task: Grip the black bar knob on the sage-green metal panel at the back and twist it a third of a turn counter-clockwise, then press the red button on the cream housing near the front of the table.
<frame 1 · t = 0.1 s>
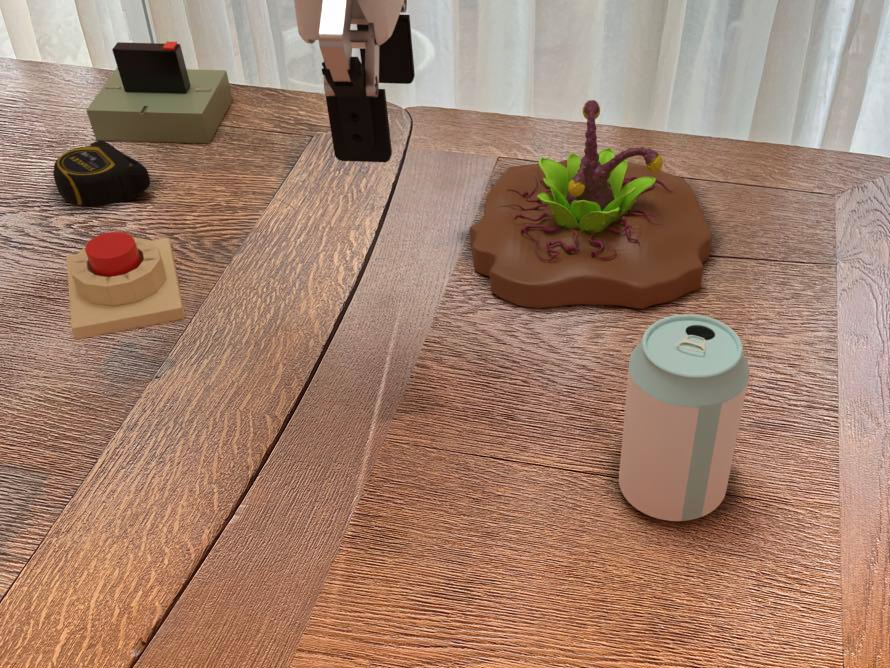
hand: (377, 118, 62), 19 cm above the table, tool pointing down, fingers open, 9 cm apart
plant: (589, 243, 88), on the table
button box: (130, 304, 81), on the table
button: (113, 254, 78), point 4 cm above the table, slide at 0.1 cm
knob: (151, 66, 97), point 5 cm above the table, hinge at 0.0°
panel: (166, 119, 101), on the table
can: (671, 491, 68), on the table
tape measure: (110, 196, 92), on the table
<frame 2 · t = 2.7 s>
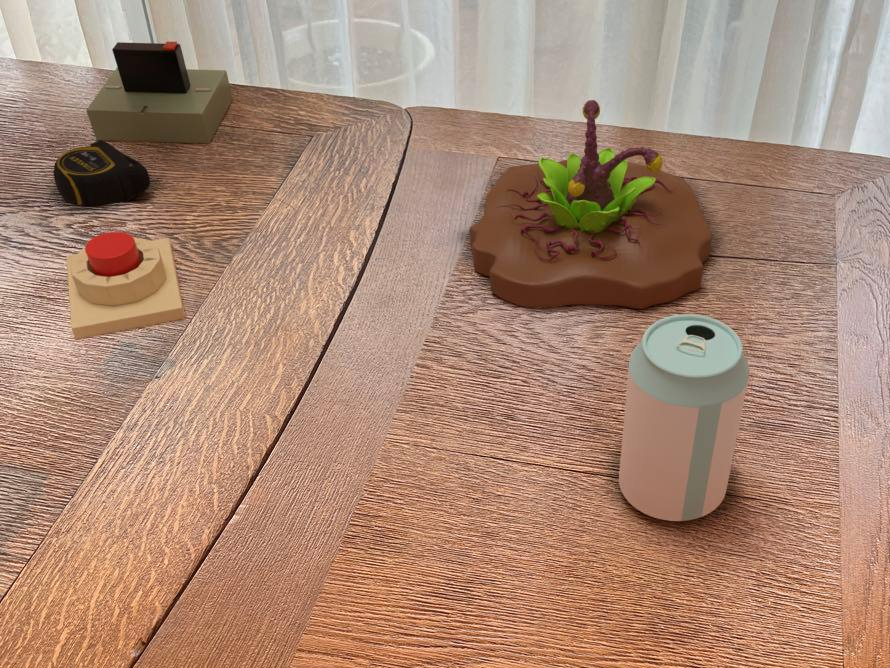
nothing on the table moved.
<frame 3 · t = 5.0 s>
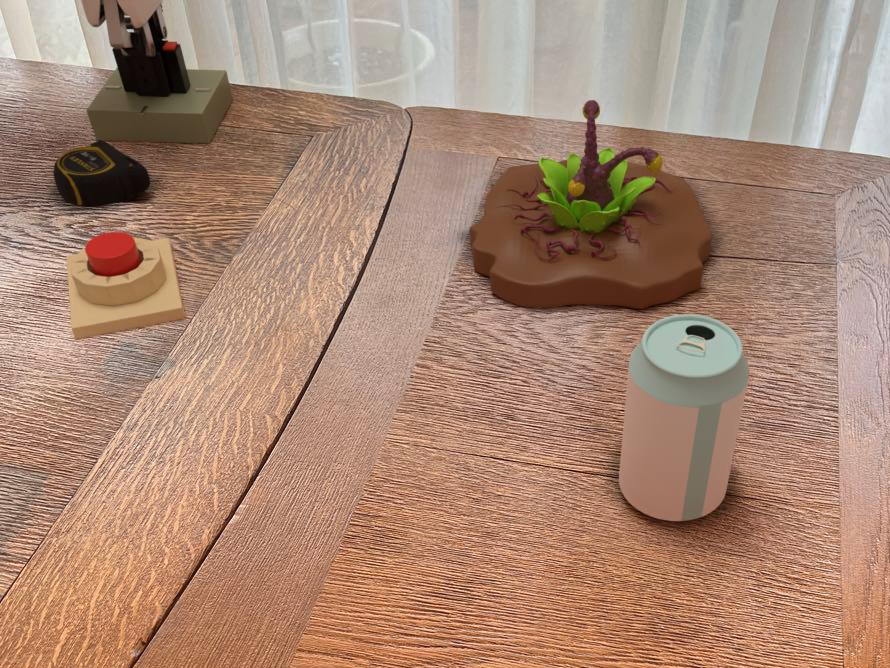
hand: (157, 87, 99), 3 cm above the table, tool pointing down, fingers closed on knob
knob: (151, 66, 97), point 5 cm above the table, hinge at 0.0°, touching gripper
everything else where it was.
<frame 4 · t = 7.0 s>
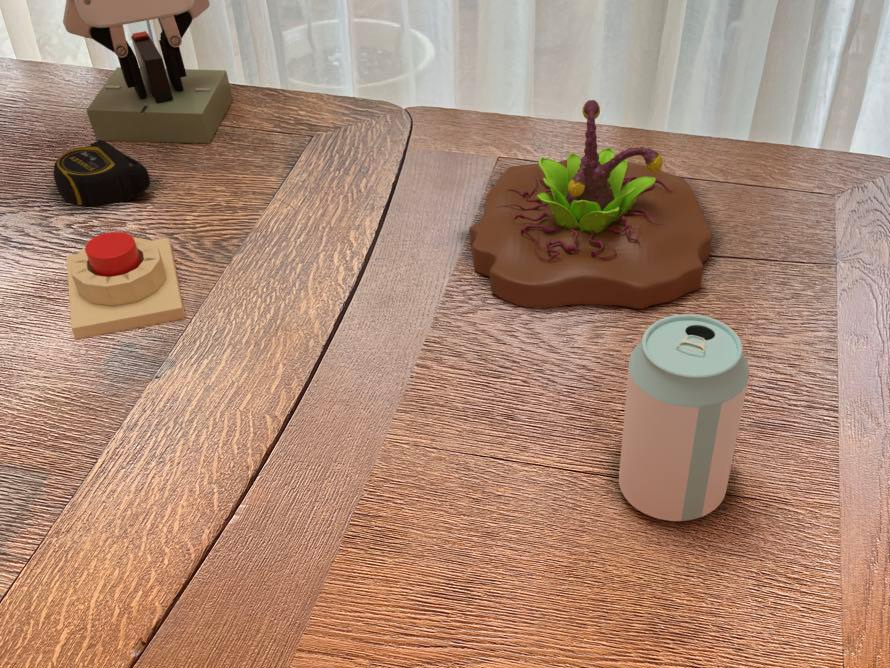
hand: (158, 87, 99), 3 cm above the table, tool pointing down, fingers closed
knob: (151, 66, 97), point 5 cm above the table, hinge at 119.5°
everything else where it was.
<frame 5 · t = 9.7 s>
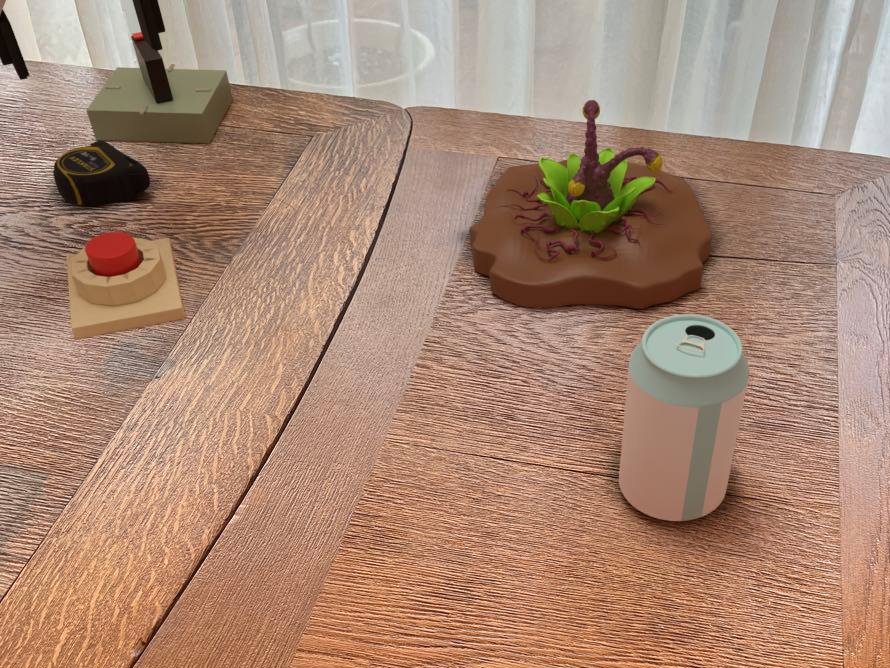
hand: (88, 57, 76), 15 cm above the table, tool pointing down, fingers open, 9 cm apart
nothing on the table moved.
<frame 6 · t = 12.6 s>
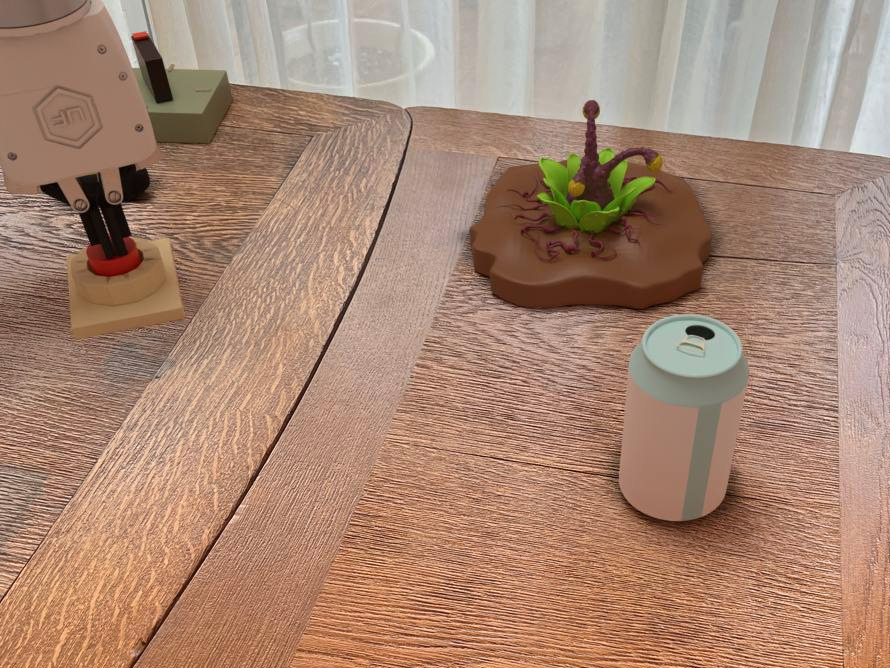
hand: (113, 247, 77), 5 cm above the table, tool pointing down, fingers closed
button: (114, 257, 78), point 4 cm above the table, slide at -0.1 cm, touching gripper
everything else where it was.
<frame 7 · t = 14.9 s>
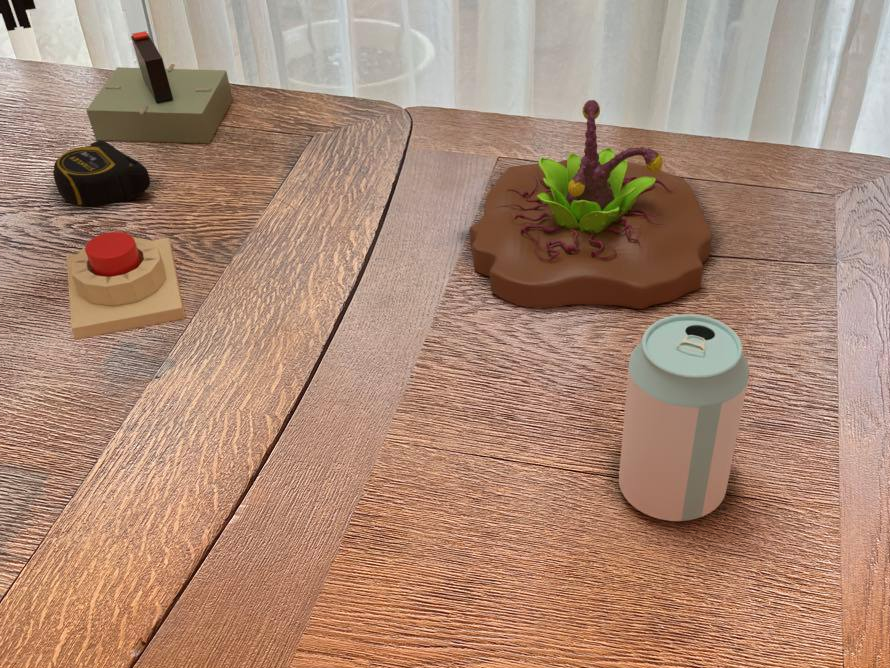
hand: (16, 21, 72), 19 cm above the table, tool pointing down, fingers closed
button: (113, 254, 78), point 4 cm above the table, slide at 0.1 cm
everything else where it was.
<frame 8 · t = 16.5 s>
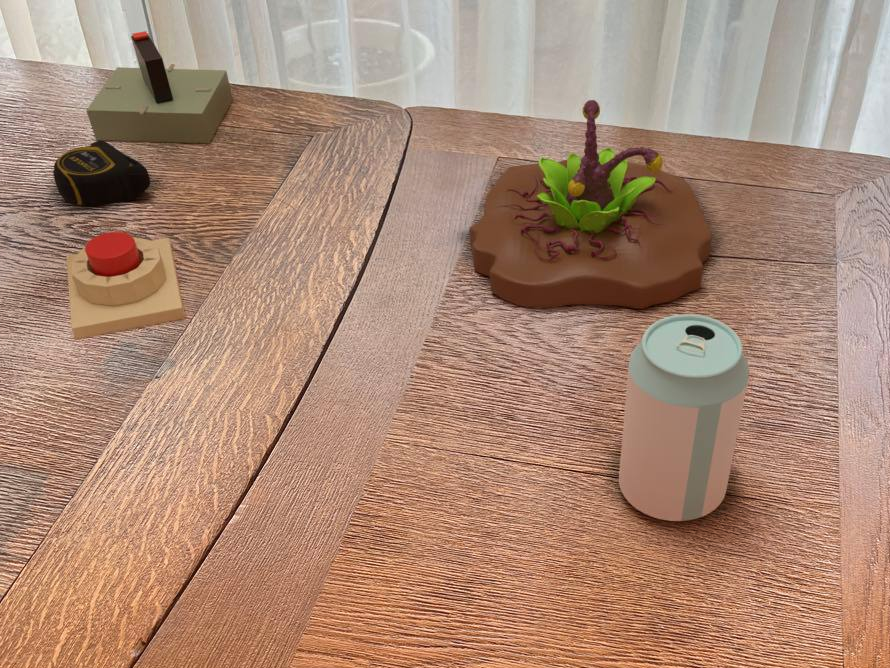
nothing on the table moved.
at the end: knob at +120° (first picture: +0°); button pushed in 1.1 cm at the most during the clip, back to where it started at the end; button slide at 0.1 cm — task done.
